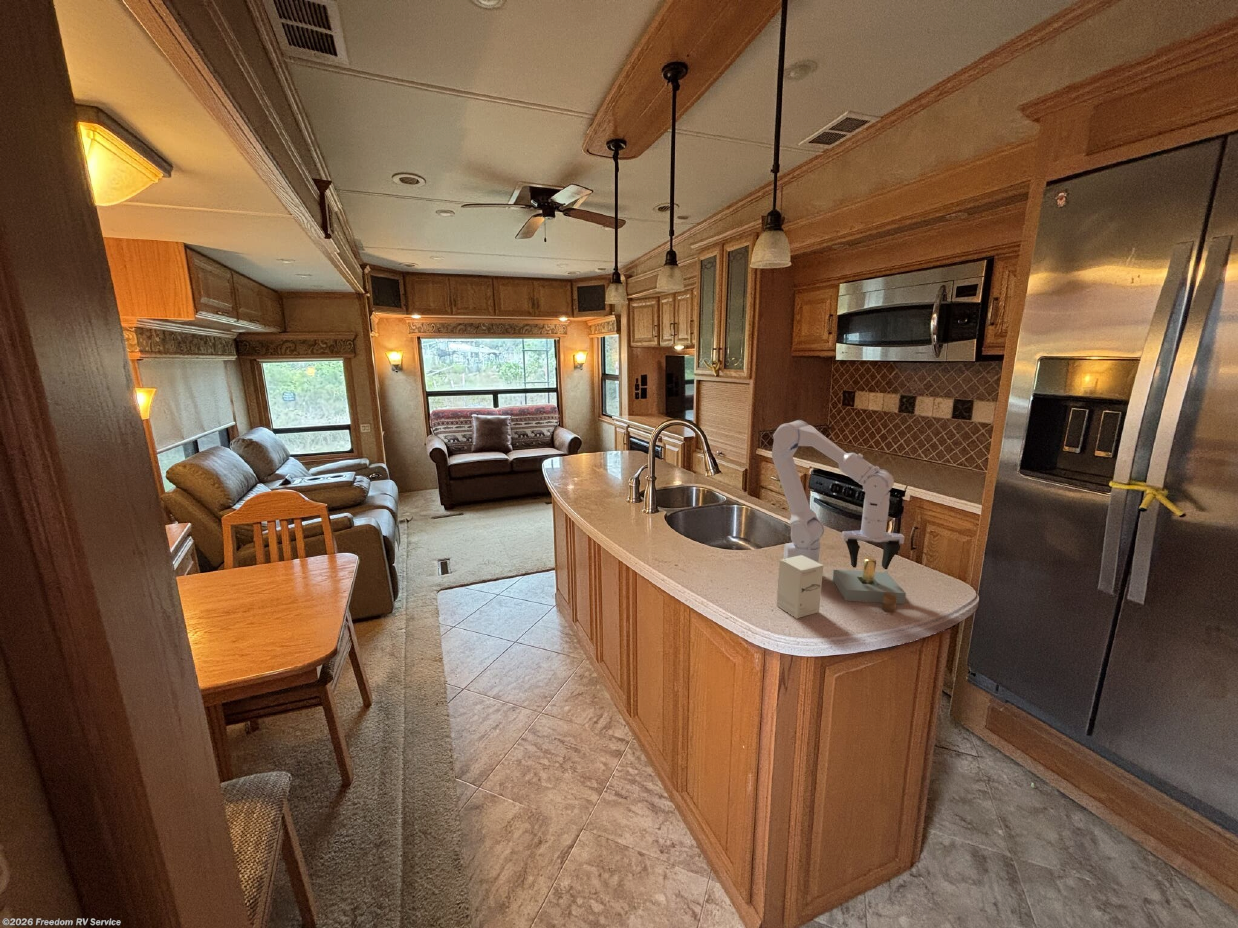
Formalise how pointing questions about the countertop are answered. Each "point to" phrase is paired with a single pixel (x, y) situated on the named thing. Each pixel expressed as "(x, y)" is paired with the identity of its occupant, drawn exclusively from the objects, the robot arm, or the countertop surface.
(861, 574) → the hole plate
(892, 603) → the short pin
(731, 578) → the countertop surface
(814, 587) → the supplement box
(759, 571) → the countertop surface
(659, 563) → the countertop surface
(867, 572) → the long pin
